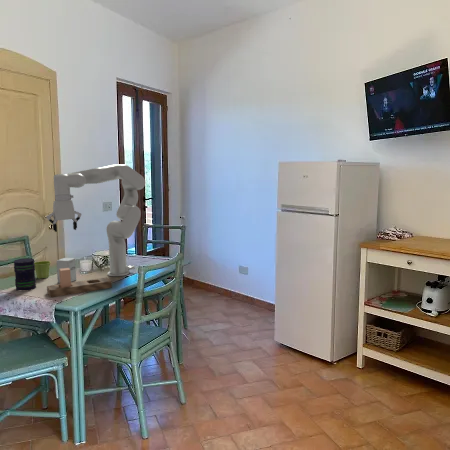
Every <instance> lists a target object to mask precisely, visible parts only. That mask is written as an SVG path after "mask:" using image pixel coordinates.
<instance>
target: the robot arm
mask: <svg viewBox="0 0 450 450" xmlns="http://www.w3.org/2000/svg"><path fill="white" fill-rule="evenodd" d="M116 180H121V186H122V188H123V193H124V195H123V198H122V200H121V203H120V205H119V206H118V208H117V210H116V214H115V215H116V217H117V219H119V220H112V221H110V222H109V223H108V224H107V225H106V235H107V240H108V254H109V256H108V259H109V271H107V273H106V274H107V276H109V277H124V276H127V275H129V274H130V270H135V265H127V250H126V249H127V247H126V239H129V238H131V237H132V236H133V234H134V232H135V230H136V228H137V226H138V224H139V222H140V220H141V216H142V215H141V214H142V212H141V208H139V206H137V204H138V201H139V193H138V191H140V190H142V189H144V187H145V186H146V180H145V178H144V176H143V175H141V174H140V173H139V172H137V171H136V170H135V169H134V168H132V167H130V165H127V164H117V163H116V164H110V165H107V166H106V165H105V166H102V167H95V168H91V169H90V168H89V169H85V170H84V169H83V170H79V171H74V172H69V173H64V174H63V173H62V174H61V173H60V174H59V173H58V174H54V176H53V188H54V199H55V200H53V207H52V209H53V210H52V212H51V213H49V214H48V215H46V216H45V217H46V218H47V221H49V222H50V223H51V224H52V229H53V231H54V232H55V233H56V232H58V226H57V222H58V221H65V220H66V221H67V220H73V221H72V222H73V223H72V228H73V230H74V231H77V229H78V222H79V220H80V219H81V216H82V213H81V212H79V211H76V210H75V207H74V203H73V200H72V199H73V198H74V195H72V194H71V188H73V189H74V188H75V189H76V188H78V189H79V188H82V187H84V186H85V185H89V184H90V185H91V184H103V183H107V182H110V181H111V182H112V181H116ZM76 215H77V217H76ZM51 217H53V219H52V218H51Z"/></svg>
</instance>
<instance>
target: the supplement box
mask: <svg viewBox="0 0 450 450" xmlns="http://www.w3.org/2000/svg"><path fill="white" fill-rule="evenodd" d="M63 268H69V269H70V274H71V282H76V281H77V268H76V258H75V257H63V258H60V259H57V260H56V274H57V275H56V276H57V283H58V284H60V275H59V269H63Z"/></svg>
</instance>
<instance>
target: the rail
mask: <svg viewBox="0 0 450 450" xmlns="http://www.w3.org/2000/svg"><path fill="white" fill-rule="evenodd" d="M112 285H113V284H112V280H111V279H110V278H108V277H100V278H93V279H85V280H79V281H73V282H71V287H64V288H60V283H58V284H54V285H53V284H52V285H51V284H50V285H47V286H46V290H47V292H46V293H47V294H48V296H49V297H50V298H54V297H61V296H67V295H73V294H81V293H86V292H92V291H93V292H94V291H99V290H105V289H111V288H112Z"/></svg>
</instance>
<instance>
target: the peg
mask: <svg viewBox="0 0 450 450" xmlns="http://www.w3.org/2000/svg"><path fill="white" fill-rule="evenodd" d="M59 275H60V283H59V284H60V288H64V287H71V274H70V269H69V268H63V269H59Z"/></svg>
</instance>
